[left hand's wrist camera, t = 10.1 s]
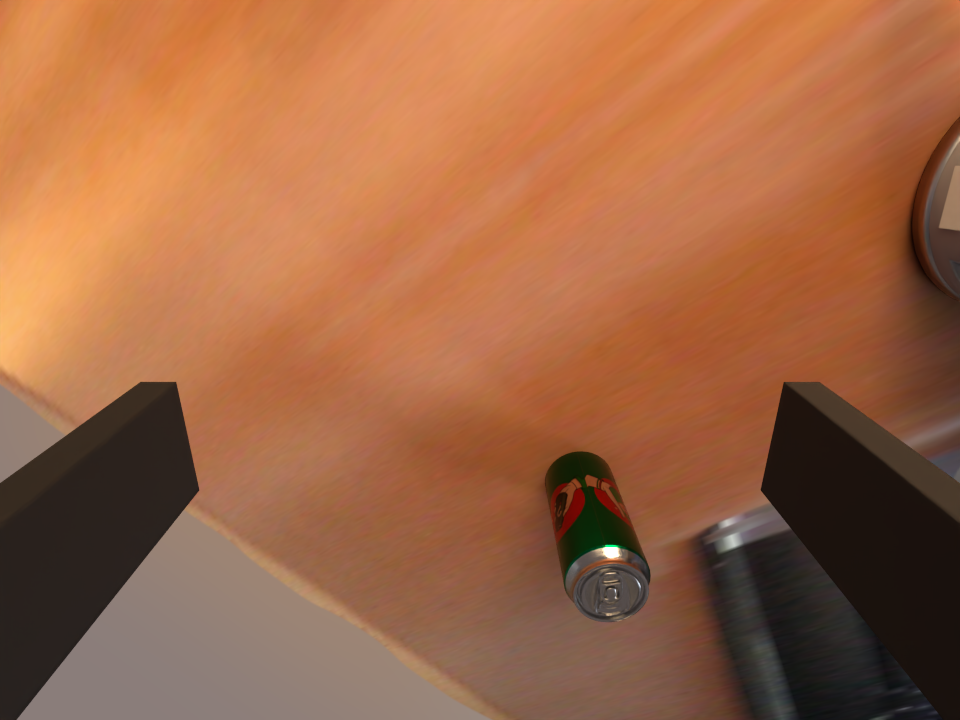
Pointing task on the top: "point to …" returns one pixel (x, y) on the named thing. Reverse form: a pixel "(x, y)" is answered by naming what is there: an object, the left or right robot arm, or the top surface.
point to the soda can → (595, 539)
